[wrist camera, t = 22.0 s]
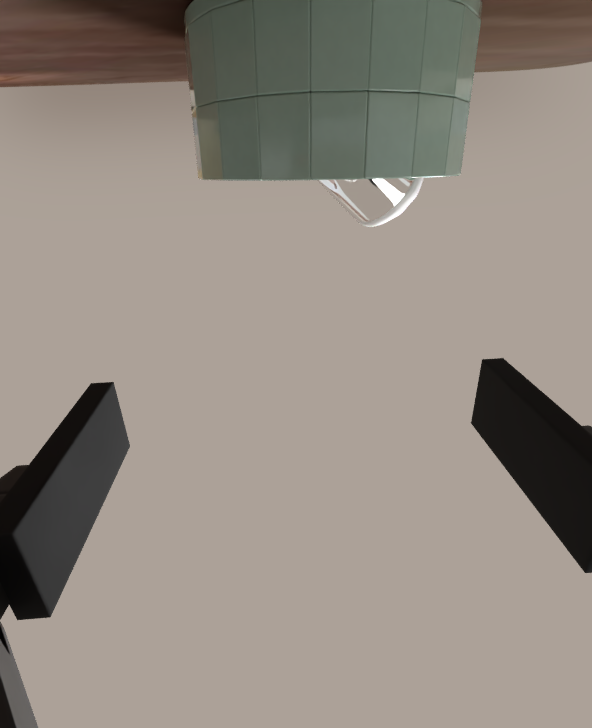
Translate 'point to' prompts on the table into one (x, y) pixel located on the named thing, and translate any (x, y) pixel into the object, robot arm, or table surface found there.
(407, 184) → the milkshake
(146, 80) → the table surface
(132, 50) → the table surface
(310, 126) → the pot
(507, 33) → the table surface
